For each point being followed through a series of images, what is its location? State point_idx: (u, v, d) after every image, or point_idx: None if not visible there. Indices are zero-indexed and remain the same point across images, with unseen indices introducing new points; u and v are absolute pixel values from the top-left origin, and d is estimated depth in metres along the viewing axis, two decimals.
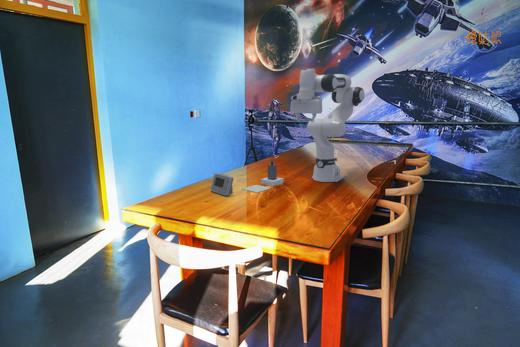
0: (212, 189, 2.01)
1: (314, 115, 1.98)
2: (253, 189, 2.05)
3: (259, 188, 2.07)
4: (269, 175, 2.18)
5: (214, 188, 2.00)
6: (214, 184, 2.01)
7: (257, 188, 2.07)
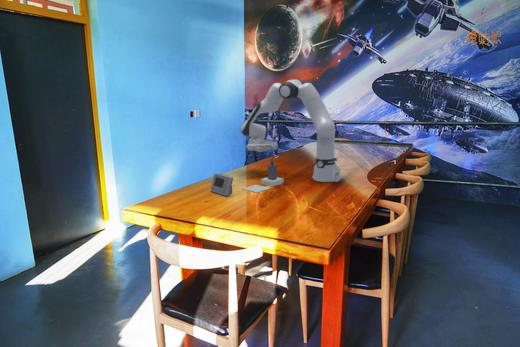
0: (212, 189, 2.01)
1: (254, 149, 2.28)
2: (253, 189, 2.05)
3: (259, 188, 2.07)
4: (269, 175, 2.18)
5: (214, 188, 2.00)
6: (214, 184, 2.01)
7: (257, 188, 2.07)
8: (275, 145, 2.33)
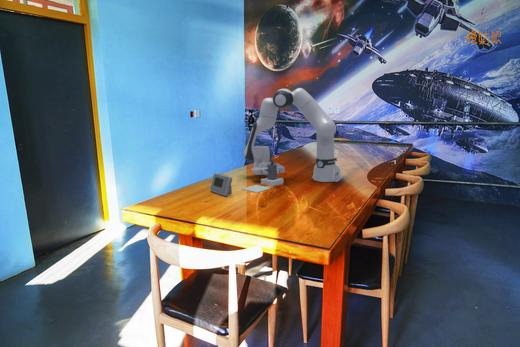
0: (211, 189, 2.01)
1: (262, 173, 2.19)
2: (253, 189, 2.05)
3: (259, 188, 2.07)
4: (269, 175, 2.18)
5: (213, 188, 2.00)
6: (213, 184, 2.01)
7: (257, 188, 2.07)
8: (282, 168, 2.24)
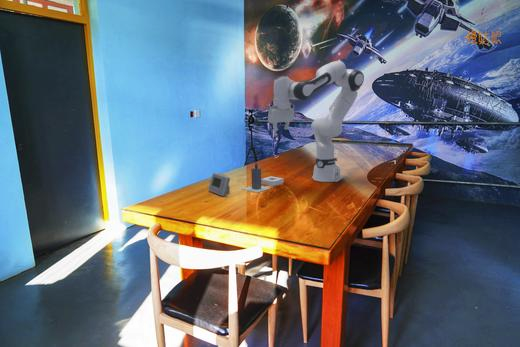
0: (210, 189, 2.02)
1: (273, 124, 1.98)
2: (253, 189, 2.05)
3: None
4: (253, 179, 2.05)
5: (211, 188, 2.00)
6: (212, 184, 2.01)
7: None
8: None
